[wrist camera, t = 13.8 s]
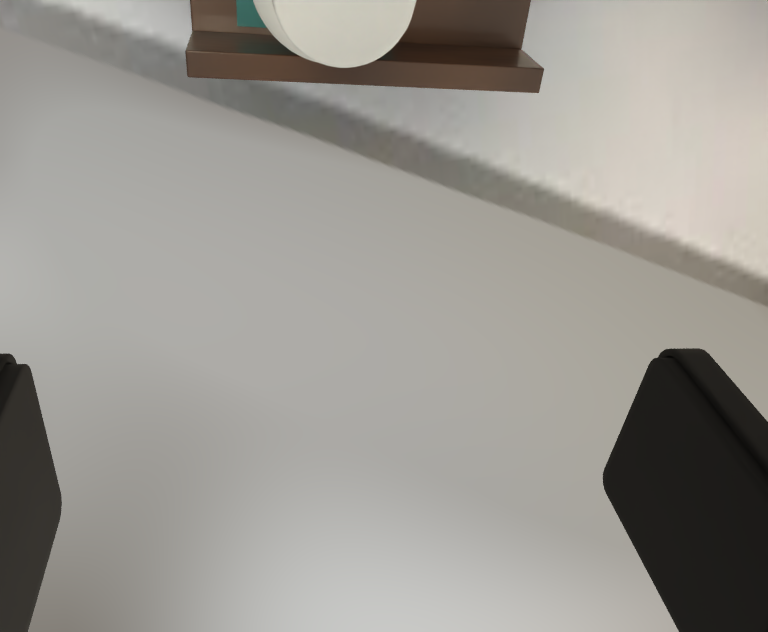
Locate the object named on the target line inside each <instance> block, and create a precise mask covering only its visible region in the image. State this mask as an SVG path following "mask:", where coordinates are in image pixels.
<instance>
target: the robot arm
mask: <svg viewBox="0 0 768 632" xmlns="http://www.w3.org/2000/svg"><path fill="white" fill-rule="evenodd" d="M603 485H604V489H605V492H606V494H607V496H608V498H609V499H610V501H611V503H612V505H613V507H614V509H615V511H616V513H617V515H618V517H619V519H620V520H621V522H622V524H623V526H624V528H625V530H626V532H627V534H628V536H629V538H630V539H631V541H632V543H633V545H634V547H635V549H636V551H637V553H638V555H639V557H640V558H641V560H642V562H643V564H644V566H645V568H646V570H647V572H648V574H649V575H650V577H651V579H652V581H653V583H654V585H655V586H656V589H657V591H658V593H659V594H660V596H661V598H662V600H663V602H664V604H665V606H666V607H667V609H668V612H669V613H670V615H671V617H672V619H673V621H674V623H675V625H676V627H677V629H678V630H679V632H768V422H767V421H766V419H765V418H764V417H763V416H762V415H761V414H760V413H759V411H758V410H757V409H756V408H755V407H754V406H753V404H752V403H751V402H750V401H749V400H748V399H747V397H746V396H745V395H744V394H743V393H742V392H741V391H740V389H739V388H738V387H737V386H736V385H735V384H734V382H733V381H732V380H731V379H730V378H729V377H728V376H727V375H726V373H725V372H724V371H723V370H722V369H721V368H720V366H719V365H718V364H717V363H716V362H715V360H714V359H713V358H712V357H711V356H710V355H709V354H708V353H707V352H706V351H705V350H702V349H666V350H664V351H663V352H661V353H660V355H659V357H658V358H654V359H653V360H652V361H651V362H650V364H649V366H648V368H647V371H646V373H645V375H644V378H643V380H642V382H641V385H640V387H639V390H638V392H637V394H636V396H635V399H634V401H633V403H632V406H631V408H630V410H629V413H628V415H627V418H626V420H625V422H624V424H623V427H622V429H621V432H620V434H619V436H618V438H617V441H616V443H615V446H614V448H613V450H612V452H611V455H610V457H609V460H608V462H607V464H606V467H605V469H604V472H603ZM61 505H62V502H61V492H60V488H59V484H58V480H57V476H56V472H55V468H54V463H53V459H52V455H51V451H50V447H49V443H48V439H47V434H46V430H45V426H44V422H43V418H42V414H41V410H40V405H39V401H38V397H37V393H36V389H35V385H34V381H33V377H32V373H31V370H30V367H29V366H28V365H27V364H17V363H16V360H15V358H14V357H13V356H12V355H11V354H0V632H28V629H29V625H30V622H31V618H32V614H33V611H34V608H35V604H36V601H37V597H38V593H39V590H40V586H41V583H42V580H43V576H44V573H45V569H46V566H47V562H48V559H49V555H50V552H51V548H52V545H53V541H54V538H55V534H56V531H57V528H58V524H59V520H60V515H61Z"/></svg>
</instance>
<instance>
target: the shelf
mask: <svg viewBox="0 0 768 632" xmlns="http://www.w3.org/2000/svg"><path fill="white" fill-rule="evenodd" d="M530 2H531V0H417V1H416V4H415V7H414V11H413V15H412V18H411V21H410V23H409V25H408V28H407V29H406V31H405V33H404V34H403V36H402V37H401V38H400V40H399V41H398V42H397V44H396V45H395V46H394V47H393V48H392V49H391V50H390V51H388V52H387V53H386V54H385V55H383V56H382V57H380V58H378V59H377V60H375V61H373V62H370V63H368V64H365V65H362V66H357V67H350V68H338V67H332V66H327V65H324V64H321V63H318V62H314V61H311V60H308V59H305V58H303V57H301V56H299V55H297V54H295V53H294V52H292V51H290V50H289V49H288V48H286V47H285V46H284V45H283V44H281V43H280V42H279V41H278V40H277V39H276V38H275V37H274V36H273V35H272V33H271V32H270V31H269V30H268V28H267V27H266V25H265V24H264V22H263V21H262V19H261V17H260V16H259V14H258V12H257V10H256V7H255V5H254V2H253V0H190V6H191V20H192V34H191V37H190V40H189V43H188V45H187V48H186V51H185V52H186V64H187V76H188V77H196V78H218V79H240V80H262V81H284V82H307V83H329V84H351V85H373V86H395V87H417V88H439V89H462V90H484V91H506V92H528V93H539V90H540V85H541V80H542V76H543V71H544V68H542V67H541V66H540V65H539V64H538V63H537V62H535V61H534V60H533V59H532V58H531V57H530V56H528V55H527V54H526V53H525V52H524V51H523V50H521V48H522V43H523V38H524V32H525V27H526V22H527V17H528V12H529V7H530Z"/></svg>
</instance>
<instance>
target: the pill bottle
mask: <svg viewBox="0 0 768 632" xmlns="http://www.w3.org/2000/svg"><path fill="white" fill-rule="evenodd" d="M416 1H417V0H253V2H254V5H255V7H256V10H257V12H258V14H259V16H260V17H261V19H262V21H263V22H264V24H265V25H266V27H267V28H268V30H269V31H270V32H271V33H272V35H273V36H274V37H275V38H276V39H277V40H278V41H279V42H280V43H281V44H283V45H284V46H285V47H286V48H288V49H289V50H290V51H292V52H294V53H295V54H297V55H299V56H301V57H303V58H305V59H308V60H311V61H314V62H318V63H321V64H324V65H327V66H332V67H338V68H350V67H357V66H362V65H365V64H368V63H370V62H373V61H375V60H377V59H378V58H380V57H382V56H383V55H385V54H386V53H387V52H388V51H390V50H391V49H392V48H393V47H394V46H395V45H396V44H397V42H398V41H399V40H400V38H401V37H402V36H403V34H404V33H405V31H406V29H407V28H408V25H409V23H410V21H411V18H412V15H413V11H414V7H415V4H416Z"/></svg>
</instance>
